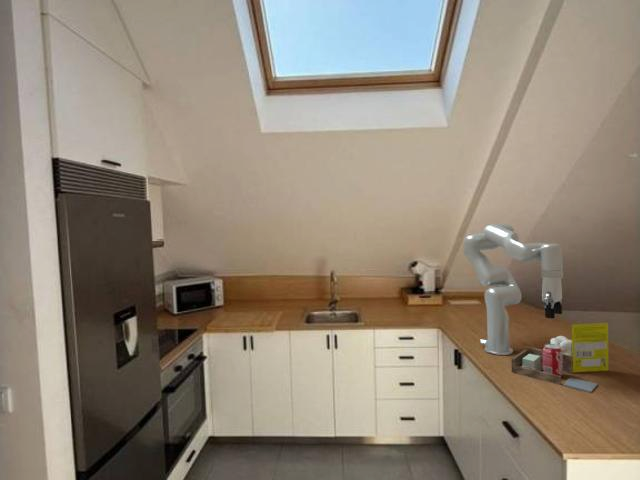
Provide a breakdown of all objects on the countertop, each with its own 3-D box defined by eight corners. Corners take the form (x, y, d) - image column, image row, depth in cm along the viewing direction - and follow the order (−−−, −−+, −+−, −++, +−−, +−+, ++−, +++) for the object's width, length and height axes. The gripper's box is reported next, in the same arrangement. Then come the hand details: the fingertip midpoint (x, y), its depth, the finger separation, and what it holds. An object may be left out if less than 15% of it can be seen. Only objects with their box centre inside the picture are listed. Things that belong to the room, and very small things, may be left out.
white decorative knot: (575, 354, 178) (575, 335, 177) (582, 363, 167) (581, 343, 166) (547, 352, 182) (547, 333, 182) (552, 360, 171) (551, 341, 171)
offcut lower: (521, 373, 160) (521, 366, 160) (529, 367, 166) (529, 360, 166) (534, 376, 156) (534, 369, 156) (542, 370, 162) (542, 363, 162)
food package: (607, 370, 159) (607, 322, 158) (609, 371, 158) (609, 323, 157) (571, 371, 158) (570, 324, 157) (573, 373, 157) (572, 325, 156)
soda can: (562, 373, 157) (562, 344, 157) (563, 379, 151) (563, 349, 150) (542, 370, 161) (542, 342, 160) (542, 376, 155) (542, 347, 154)
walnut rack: (511, 372, 160) (511, 355, 160) (526, 361, 171) (526, 346, 171) (560, 384, 147) (560, 366, 146) (573, 372, 157) (572, 355, 157)
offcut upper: (522, 365, 160) (522, 358, 160) (529, 360, 166) (529, 353, 166) (533, 368, 157) (533, 361, 157) (540, 362, 162) (540, 356, 162)
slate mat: (562, 385, 146) (562, 384, 146) (570, 378, 152) (570, 377, 152) (590, 392, 139) (590, 391, 139) (597, 385, 145) (597, 383, 145)
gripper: (548, 271, 164) (550, 311, 164) (534, 275, 152) (536, 318, 152) (568, 272, 158) (570, 313, 159) (555, 276, 147) (557, 320, 147)
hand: (553, 315), depth 156 cm, fingers open, 9 cm apart
